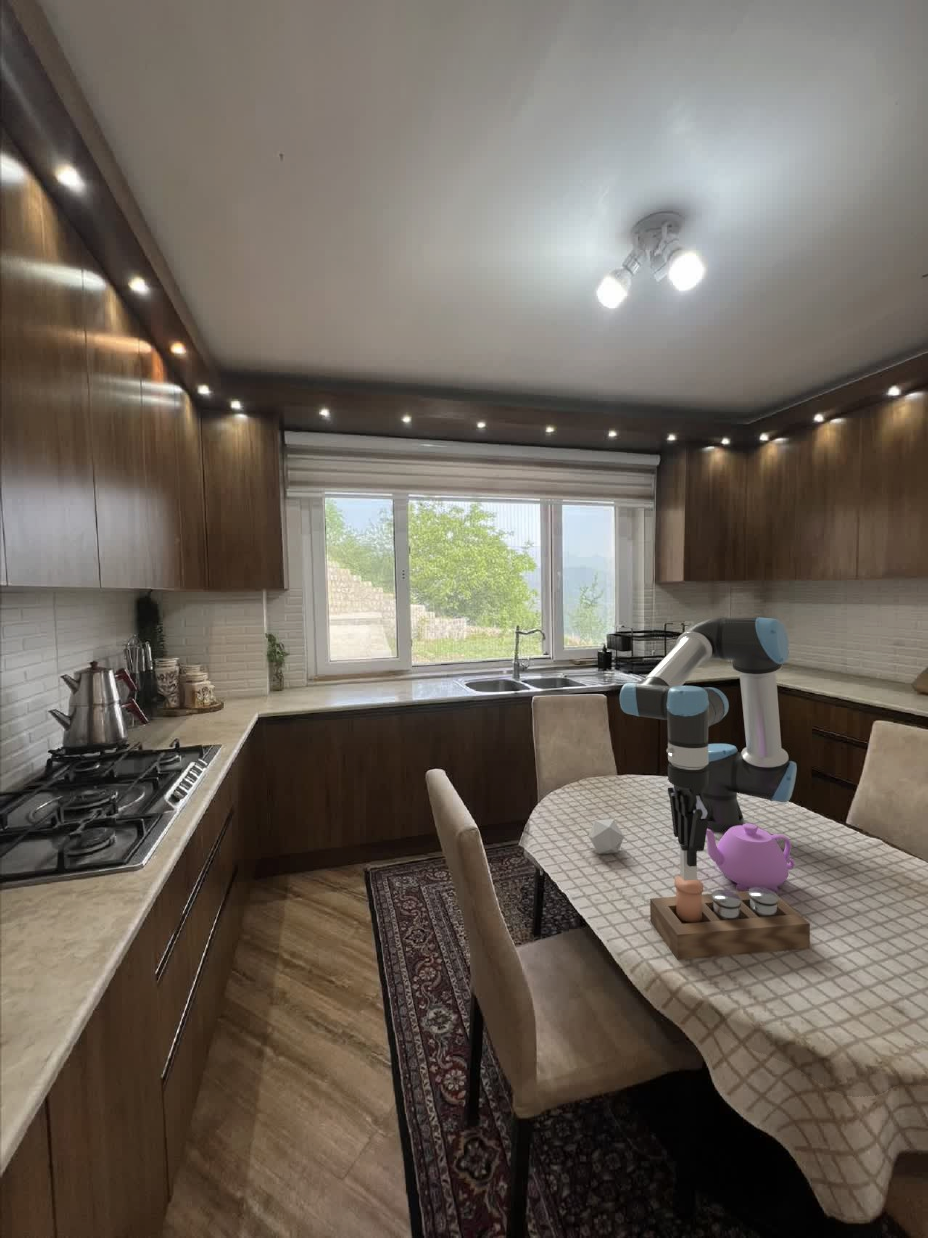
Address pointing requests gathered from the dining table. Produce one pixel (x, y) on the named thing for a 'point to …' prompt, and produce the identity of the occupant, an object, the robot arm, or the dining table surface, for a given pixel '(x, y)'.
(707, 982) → the dining table surface
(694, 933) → the wooden compartment tray
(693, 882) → the peach plug
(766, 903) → the grey plug near
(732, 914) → the grey plug mid
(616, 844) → the die
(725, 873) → the teapot
